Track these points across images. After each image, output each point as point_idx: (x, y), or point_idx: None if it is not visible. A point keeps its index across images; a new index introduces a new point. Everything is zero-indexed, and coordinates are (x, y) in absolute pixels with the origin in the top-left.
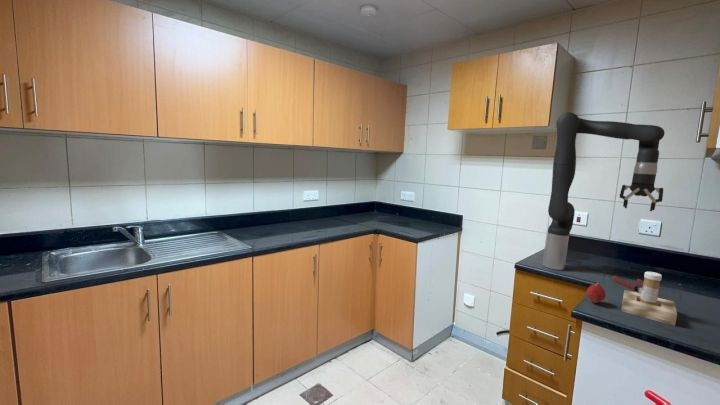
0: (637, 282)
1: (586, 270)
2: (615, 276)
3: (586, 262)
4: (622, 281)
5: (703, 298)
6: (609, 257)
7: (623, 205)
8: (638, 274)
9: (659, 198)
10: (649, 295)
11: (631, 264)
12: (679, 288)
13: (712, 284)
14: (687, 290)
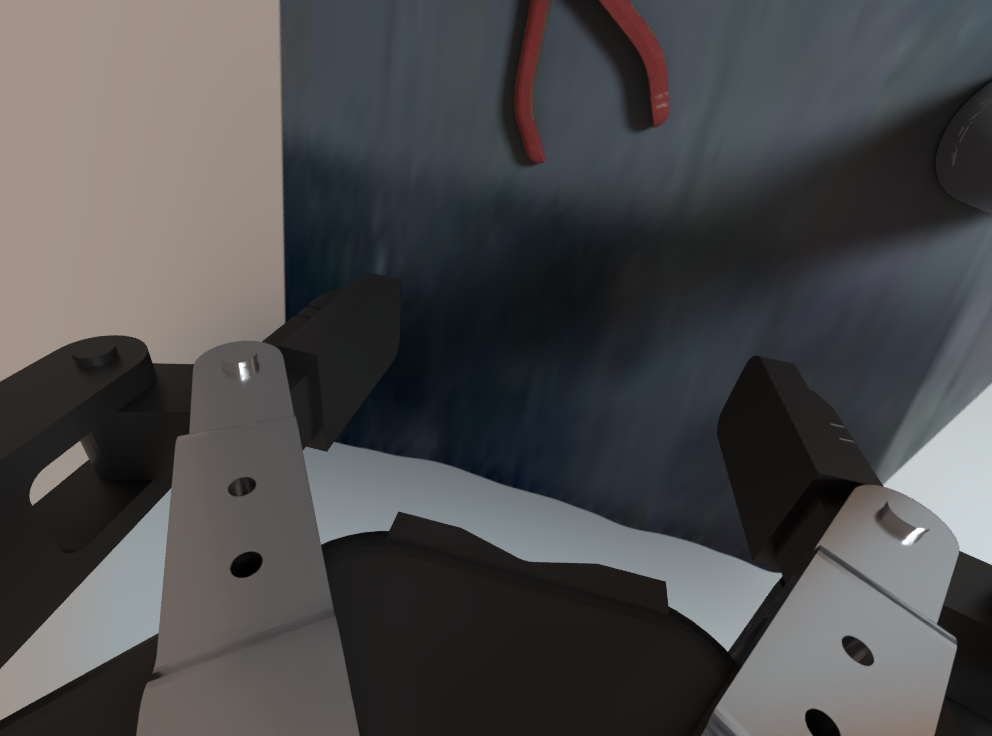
0: (542, 150)
1: (773, 209)
2: (658, 102)
3: (716, 374)
4: (640, 19)
5: (310, 92)
6: (580, 503)
7: (828, 405)
8: (512, 312)
9: (67, 399)
10: None
11: (513, 449)
12: (383, 194)
13: None
14: (358, 185)
